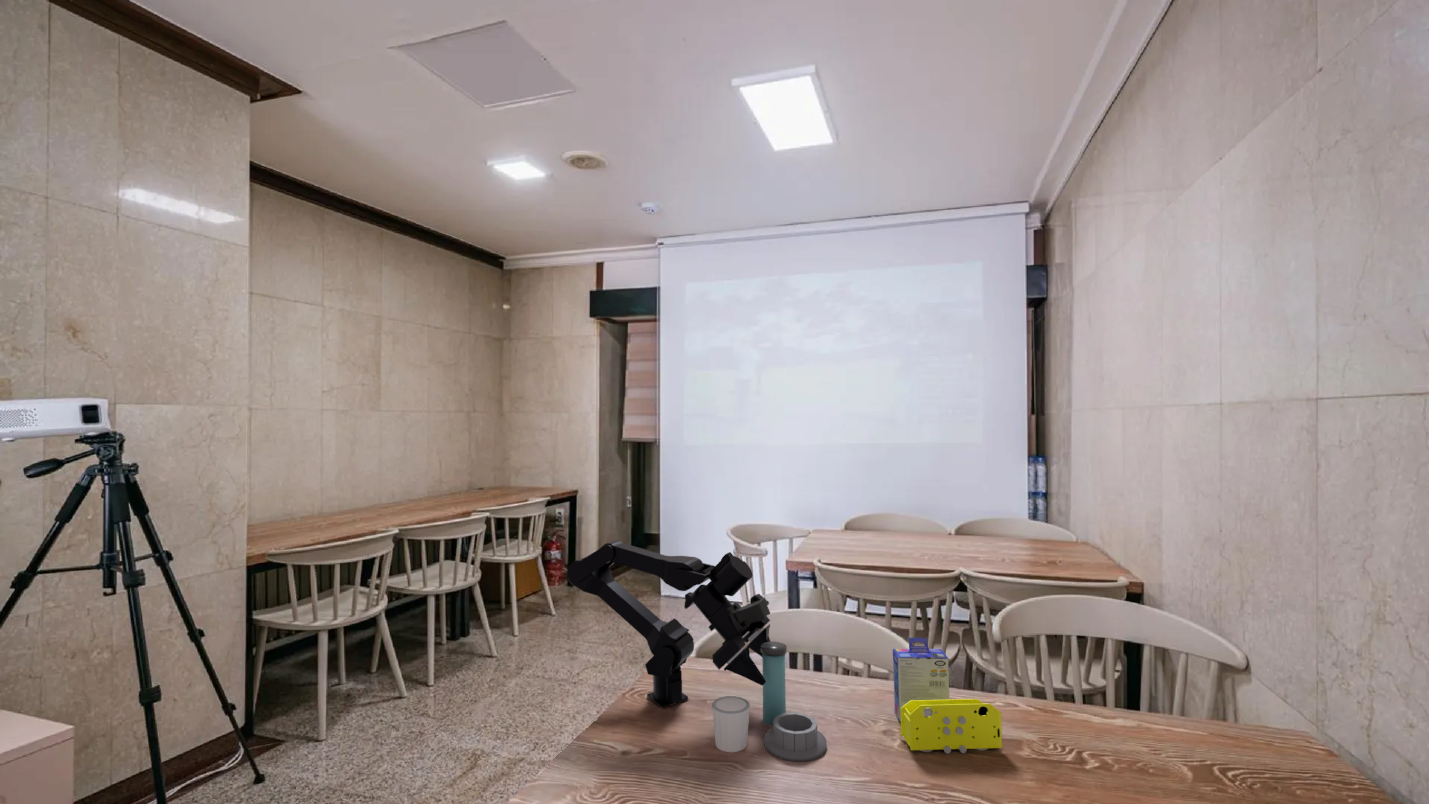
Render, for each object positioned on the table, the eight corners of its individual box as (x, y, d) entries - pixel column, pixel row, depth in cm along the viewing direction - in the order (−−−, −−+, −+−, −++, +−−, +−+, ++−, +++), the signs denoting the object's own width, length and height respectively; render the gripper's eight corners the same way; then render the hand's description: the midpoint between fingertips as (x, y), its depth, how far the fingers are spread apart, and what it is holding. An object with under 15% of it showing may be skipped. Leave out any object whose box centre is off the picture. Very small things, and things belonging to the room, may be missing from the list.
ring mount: (751, 741, 109) (751, 719, 109) (796, 722, 115) (796, 702, 115) (794, 769, 100) (793, 745, 100) (839, 747, 106) (839, 725, 106)
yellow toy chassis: (911, 756, 103) (911, 707, 104) (900, 739, 109) (899, 692, 110) (1003, 754, 104) (1002, 705, 104) (987, 737, 110) (986, 690, 110)
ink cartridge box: (943, 710, 120) (941, 636, 120) (952, 723, 114) (950, 646, 115) (892, 708, 121) (891, 635, 121) (899, 722, 115) (897, 645, 116)
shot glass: (747, 756, 104) (747, 714, 104) (708, 752, 105) (708, 711, 105) (752, 735, 111) (752, 696, 111) (716, 732, 112) (715, 693, 112)
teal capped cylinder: (756, 718, 117) (755, 645, 118) (775, 711, 120) (774, 639, 120) (773, 728, 113) (772, 653, 113) (792, 720, 116) (791, 647, 116)
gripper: (727, 597, 111) (785, 666, 106) (759, 573, 128) (811, 632, 123) (689, 635, 114) (744, 704, 109) (726, 607, 131) (775, 666, 126)
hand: (771, 674), depth 117 cm, fingers open, 9 cm apart
